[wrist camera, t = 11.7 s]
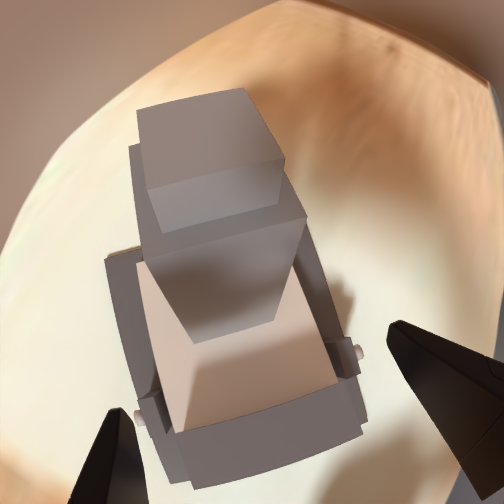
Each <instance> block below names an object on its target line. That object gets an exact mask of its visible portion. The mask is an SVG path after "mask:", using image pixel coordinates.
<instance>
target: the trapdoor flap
mask: <svg viewBox="0 0 504 504" xmlns="http://www.w3.org/2000/svg"><path fill="white" fill-rule="evenodd" d="M136 266H137V272H138V278H139V284H140V290H141V296H142V301H143V306H144V311H145V316H146V321H147V326H148V331H149V336H150V340H151V345H152V349H153V353H154V358H155V362H156V366H157V370H158V374H159V378H160V382H161V386H162V389H163V393H164V397H165V400H166V404H167V407H168V411H169V414H170V418H171V421H172V424H173V428H174V431H175V436H176V439H177V442H178V446H179V449H180V452H181V455H182V458H183V461H184V463H185V466H186V469H187V472H188V475H189V478H190V480H191V483H192V486H193V488H194V490H196V489H201V488H206V487H211V486H215V485H220V484H224V483H228V482H232V481H236V480H240V479H244V478H247V477H251V476H254V475H258V474H261V473H264V472H268V471H271V470H274V469H277V468H280V467H283V466H286V465H289V464H292V463H295V462H298V461H300V460H303V459H306V458H309V457H311V456H314V455H316V454H319V453H321V452H324V451H326V450H329V449H331V448H334V447H336V446H338V445H341V444H343V443H345V442H348V441H350V440H352V439H354V438H356V437H358V436H361V435H363V432H362V429H361V426H360V423H359V421H358V418H357V415H356V412H355V410H354V407H353V404H352V402H351V399H350V396H349V394H348V391H347V388H346V386H345V383H344V381H342V382H338V380H337V377H336V374H335V372H334V369H333V366H332V364H331V361H330V359H329V356H328V353H327V351H326V348H325V346H324V343H323V341H322V338H321V335H320V333H319V330H318V328H317V325H316V323H315V320H314V318H313V315H312V313H311V310H310V308H309V305H308V303H307V300H306V298H305V295H304V293H303V290H302V288H301V285H300V283H299V280H298V278H297V276H296V273H295V271H294V268H293V266H292V267H291V270H290V273H289V276H288V279H287V282H286V285H285V288H284V291H283V294H282V297H281V300H280V303H279V306H278V309H277V312H276V315H275V318H274V321H271V322H268V323H265V324H262V325H258V326H255V327H252V328H249V329H245V330H242V331H239V332H235V333H232V334H229V335H225V336H222V337H218V338H215V339H211V340H208V341H204V342H201V343H197V344H194V343H193V342H192V340H191V339H190V337H189V335H188V334H187V332H186V331H185V329H184V327H183V326H182V324H181V323H180V321H179V319H178V318H177V316H176V315H175V313H174V311H173V310H172V308H171V306H170V305H169V303H168V301H167V300H166V298H165V296H164V295H163V293H162V291H161V290H160V288H159V286H158V285H157V283H156V281H155V279H154V278H153V276H152V274H151V272H150V271H149V269H148V267H147V265H146V263H145V262H144V261H143V262H139V263H136Z"/></svg>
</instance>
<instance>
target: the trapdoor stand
mask: <svg viewBox="0 0 504 504" xmlns="http://www.w3.org/2000/svg"><path fill="white" fill-rule="evenodd" d="M104 261H105V267H106V273H107V278H108V283H109V288H110V293H111V298H112V303H113V308H114V312H115V317H116V321H117V325H118V329H119V334H120V338H121V342H122V345H123V349H124V353H125V357H126V360H127V364H128V367H129V371H130V374H131V378H132V381H133V384H134V388H135V391H136V394H137V397H138V400H137V401H138V404H139V407H140V410H136V411H134V418H135V421H136V423H137V425H138V426H144V425H146V427H147V430H148V433H149V435H150V438H152V440H153V443H154V445H155V448H156V450H157V453H158V455H159V458H160V460H161V463H162V465H163V468H164V470H165V472H166V475H167V477H168V479H169V482H170V484H174V483H179V482H185V481H190V478H189V475H188V472H187V469H186V466H185V463H184V461H183V458H182V455H181V452H180V449H179V446H178V442H177V439H176V436H175V431H174V428H173V424H172V421H171V418H170V414H169V411H168V407H167V404H166V400H165V397H164V393H163V389H162V386H161V382H160V378H159V374H158V370H157V366H156V362H155V358H154V353H153V349H152V345H151V340H150V336H149V331H148V326H147V321H146V316H145V311H144V306H143V301H142V296H141V290H140V284H139V278H138V272H137V266H136V263H139V262H143V261H144V259H143V254H142V249H138V250H135V251H131V252H128V253H124V254H120V255H117V256H113V257H110V258H106V259H104ZM292 266H293V268H294V271H295V273H296V276H297V278H298V280H299V283H300V285H301V288H302V290H303V293H304V295H305V298H306V300H307V303H308V305H309V308H310V310H311V313H312V315H313V318H314V320H315V323H316V325H317V328H318V330H319V333H320V335H321V338H322V341H323V343H324V346H325V348H326V351H327V353H328V356H329V359H330V361H331V364H332V366H333V369H334V372H335V374H336V377H337V380H338V382H342V381H344V383H345V386H346V388H347V391H348V394H349V396H350V399H351V402H352V404H353V407H354V410H355V412H356V415H357V418H358V421H359V423H360V425H362V424H364V423H366V422H368V419H367V416H366V412H365V408H364V404H363V401H362V397H361V393H360V390H359V386H358V383H357V379H356V375H358V374H360V373H361V371H360V367H359V364H358V360H361V359H363V357H364V354H363V350H362V348H361V347H360V345H358V344H357V345H354V346H353V344H352V340H351V337H344V335H343V332H342V329H341V326H340V323H339V320H338V316H337V313H336V310H335V307H334V304H333V301H332V298H331V295H330V292H329V289H328V286H327V283H326V280H325V277H324V274H323V271H322V268H321V265H320V262H319V259H318V257H317V254H316V251H315V248H314V245H313V242H312V240H311V237H310V234H309V231H308V229H307V226H306V223H305V226H304V229H303V233H302V236H301V239H300V242H299V245H298V248H297V252H296V255H295V258H294V261H293V264H292Z"/></svg>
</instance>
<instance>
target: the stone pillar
mask: <svg viewBox="0 0 504 504" xmlns="http://www.w3.org/2000/svg"><path fill="white" fill-rule="evenodd" d="M136 111H137V121H138V129H139V138H140V143H139V144H135V145H132V146H129V157H130V167H131V176H132V185H133V193H134V201H135V208H136V215H137V222H138V229H139V235H140V242H141V248H142V254H143V259H144V262H145V263H146V265H147V267H148V269H149V271H150V272H151V274H152V276H153V278H154V279H155V281H156V283H157V285H158V286H159V288H160V290H161V291H162V293H163V295H164V296H165V298H166V300H167V301H168V303H169V305H170V306H171V308H172V310H173V311H174V313H175V315H176V316H177V318H178V319H179V321H180V323H181V324H182V326H183V327H184V329H185V331H186V332H187V334H188V335H189V337H190V339H191V340H192V342H193V343H194V344H197V343H201V342H204V341H208V340H211V339H215V338H218V337H222V336H225V335H229V334H232V333H235V332H239V331H242V330H245V329H249V328H252V327H255V326H258V325H262V324H265V323H268V322H271V321H274V318H275V315H276V312H277V309H278V306H279V303H280V300H281V297H282V294H283V291H284V288H285V285H286V282H287V279H288V276H289V273H290V270H291V267H292V264H293V261H294V258H295V255H296V252H297V248H298V245H299V242H300V239H301V236H302V233H303V229H304V226H305V223H306V220H307V215H306V213H305V211H304V209H303V207H302V205H301V203H300V201H299V199H298V197H297V195H296V193H295V191H294V189H293V187H292V185H291V183H290V181H289V179H288V178H287V176H286V174H285V172H284V170H283V169H284V163H285V157H284V155H283V153H282V151H281V149H280V148H279V146H278V144H277V142H276V141H275V139H274V137H273V135H272V134H271V132H270V130H269V129H268V127H267V125H266V123H265V122H264V120H263V118H262V117H261V115H260V113H259V112H258V110H257V108H256V107H255V105H254V103H253V102H252V100H251V98H250V97H249V95H248V93H247V92H246V90H245V89H244V88H239V89H232V90H226V91H220V92H215V93H209V94H204V95H199V96H194V97H189V98H184V99H180V100H175V101H171V102H167V103H163V104H158V105H154V106H151V107H147V108H143V109H139V110H136Z"/></svg>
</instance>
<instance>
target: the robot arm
mask: <svg viewBox="0 0 504 504" xmlns="http://www.w3.org/2000/svg"><path fill="white" fill-rule="evenodd" d="M386 342H387V346H388V348H389V350H390V352H391V354H392V355H393V357H394V359H395V361H396V363H397V365H398V367H399V369H400V371H401V372H402V374H403V376H404V378H405V380H406V381H407V383H408V384H409V386H410V387H411V389H412V390H413V392H414V393H415V395H416V396H417V398H418V399H419V401H420V402H421V404H422V405H423V407H424V408H425V410H426V411H427V413H428V415H429V416H430V418H431V419H432V421H433V422H434V424H435V425H436V427H437V428H438V430H439V432H440V433H441V435H442V436H443V438H444V439H445V441H446V443H447V444H448V446H449V447H450V449H451V451H452V452H453V454H454V455H455V457H456V459H457V460H458V462H459V464H460V465H461V467H462V469H463V470H464V472H465V474H466V475H467V477H468V479H469V480H470V482H471V484H472V485H473V487H474V489H475V491H476V492H477V494H478V496H479V497H480V499H481V500H482V501H483V500H485V499H486V498H488V497H489V496H491V495H492V494H493V493H495V492H497V491H498V490H500V489H501V488H503V487H504V363H502V362H499V361H497V360H494V359H492V358H490V357H487V356H484V355H482V354H480V353H478V352H475V351H473V350H471V349H468V348H466V347H464V346H461V345H459V344H457V343H454V342H452V341H449V340H447V339H445V338H442V337H440V336H438V335H435V334H433V333H431V332H428V331H426V330H424V329H421V328H419V327H417V326H414V325H412V324H410V323H407V322H405V321H403V320H397V321H395V322H393V323H391V324H390V325H389V329H388V334H387V339H386ZM67 504H149V500H148V494H147V487H146V480H145V473H144V466H143V462H142V458H141V454H140V449H139V445H138V440H137V436H136V431H135V426H134V423H133V421H132V420H131V418H130V417H129V416H128V415H127V413H126V412H125V411H124V410H123V409H122V408H121V407H119V408H113V409H110V410H109V411H108V413H107V415H106V417H105V419H104V421H103V423H102V426H101V428H100V430H99V432H98V434H97V436H96V439H95V441H94V443H93V445H92V447H91V450H90V452H89V454H88V456H87V459H86V461H85V463H84V465H83V468H82V470H81V472H80V475H79V477H78V479H77V482H76V484H75V486H74V489H73V491H72V494H71V498H69V501H68V503H67Z"/></svg>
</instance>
